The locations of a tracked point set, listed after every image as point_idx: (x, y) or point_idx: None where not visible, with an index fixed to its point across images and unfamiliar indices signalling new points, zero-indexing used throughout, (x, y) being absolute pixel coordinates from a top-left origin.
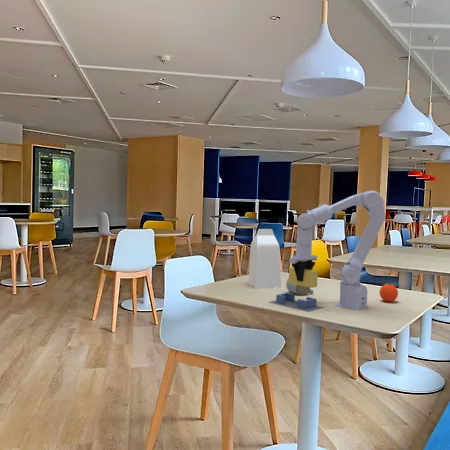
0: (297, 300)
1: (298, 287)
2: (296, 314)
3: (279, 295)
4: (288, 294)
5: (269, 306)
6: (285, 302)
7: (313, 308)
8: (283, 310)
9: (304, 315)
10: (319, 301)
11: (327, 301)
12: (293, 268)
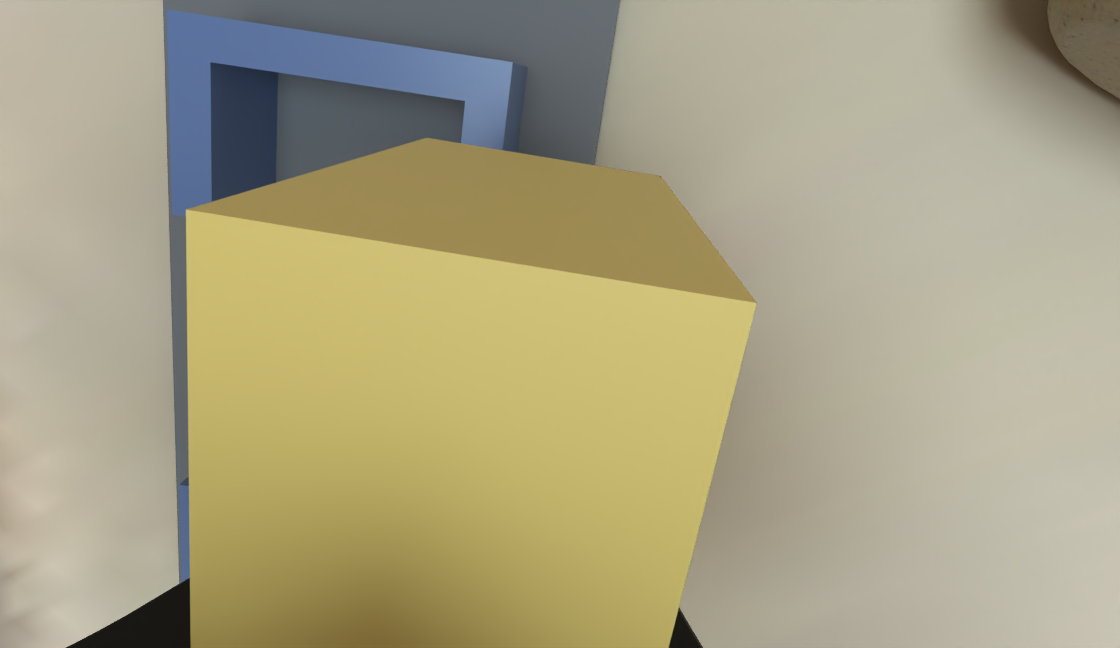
0: (188, 476)
1: (1112, 24)
2: (7, 539)
3: (178, 88)
4: (463, 134)
5: (16, 53)
6: (370, 140)
7: None
8: (16, 336)
9: (50, 617)
10: (843, 465)
11: (913, 544)
12: (207, 521)
